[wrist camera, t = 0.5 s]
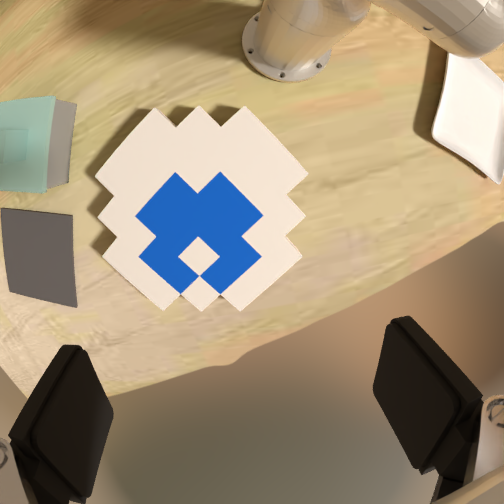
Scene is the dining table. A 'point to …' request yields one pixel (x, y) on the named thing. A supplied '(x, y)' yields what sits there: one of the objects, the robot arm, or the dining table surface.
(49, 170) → the storage box
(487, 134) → the salad plate
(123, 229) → the pixel art tile
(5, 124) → the lid
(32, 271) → the mat
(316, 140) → the dining table surface
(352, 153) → the dining table surface
